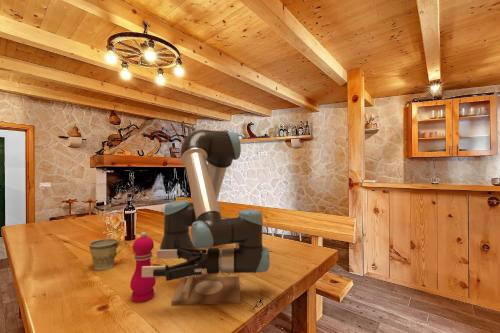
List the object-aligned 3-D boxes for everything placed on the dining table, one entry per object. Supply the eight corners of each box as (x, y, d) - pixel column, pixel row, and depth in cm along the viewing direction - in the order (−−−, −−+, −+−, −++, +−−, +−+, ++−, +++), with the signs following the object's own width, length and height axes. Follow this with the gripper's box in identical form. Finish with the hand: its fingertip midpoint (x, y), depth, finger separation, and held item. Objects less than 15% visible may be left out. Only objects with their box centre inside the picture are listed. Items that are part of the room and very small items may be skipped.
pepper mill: (135, 291, 78) (135, 229, 78) (158, 290, 79) (158, 229, 79) (125, 304, 71) (126, 235, 71) (151, 303, 71) (151, 235, 72)
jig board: (171, 305, 70) (171, 294, 70) (182, 281, 85) (182, 272, 85) (240, 303, 72) (240, 292, 72) (239, 279, 87) (239, 270, 87)
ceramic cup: (87, 274, 90) (87, 247, 90) (90, 264, 99) (90, 240, 99) (126, 267, 96) (126, 242, 96) (126, 259, 105) (126, 236, 105)
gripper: (217, 293, 64) (133, 295, 62) (221, 257, 88) (162, 259, 87) (217, 264, 64) (134, 266, 62) (221, 237, 88) (162, 238, 87)
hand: (150, 262), depth 74 cm, fingers open, 13 cm apart
